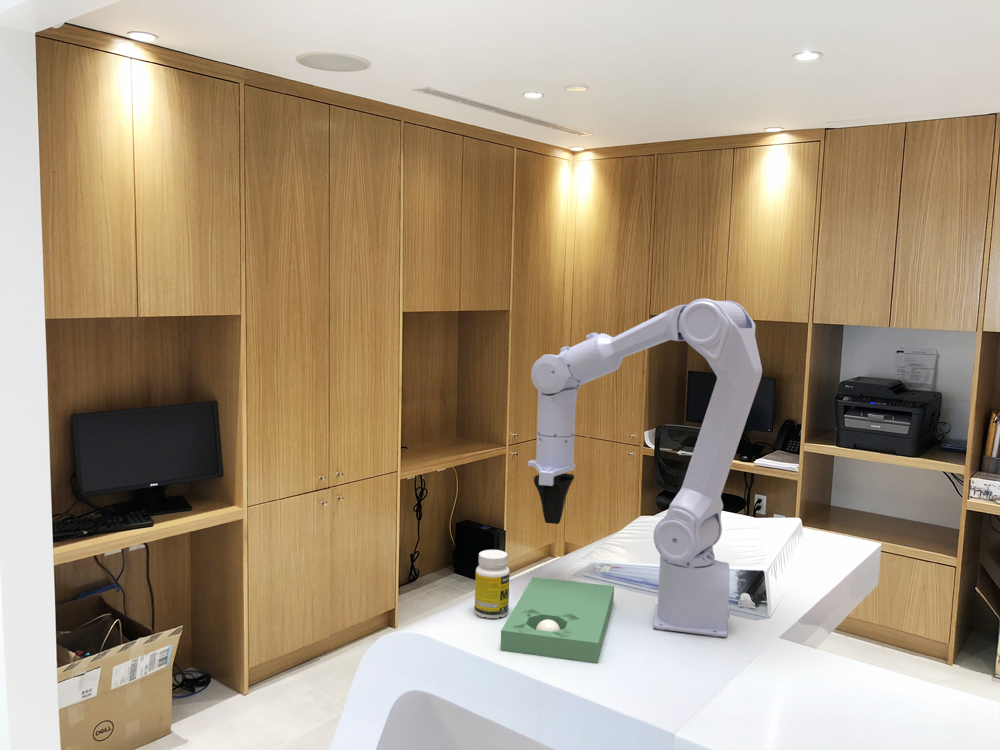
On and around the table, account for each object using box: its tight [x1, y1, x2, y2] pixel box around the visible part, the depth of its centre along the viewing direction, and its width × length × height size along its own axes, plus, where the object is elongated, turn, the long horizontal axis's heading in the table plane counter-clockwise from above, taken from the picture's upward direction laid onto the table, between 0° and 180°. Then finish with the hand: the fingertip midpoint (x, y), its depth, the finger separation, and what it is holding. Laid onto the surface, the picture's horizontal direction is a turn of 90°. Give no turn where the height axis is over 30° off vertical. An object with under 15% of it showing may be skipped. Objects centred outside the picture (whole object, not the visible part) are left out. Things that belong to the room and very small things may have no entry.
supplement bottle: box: [474, 549, 511, 619], centre depth 106 cm, size 5×5×8 cm
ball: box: [536, 619, 560, 632], centre depth 97 cm, size 3×3×3 cm
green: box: [500, 576, 615, 664], centre depth 103 cm, size 12×20×2 cm, turn 166°
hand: (552, 522), depth 117 cm, fingers closed
